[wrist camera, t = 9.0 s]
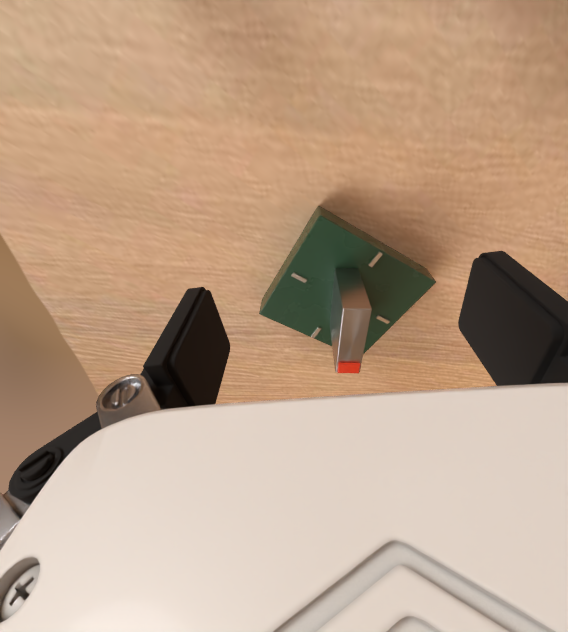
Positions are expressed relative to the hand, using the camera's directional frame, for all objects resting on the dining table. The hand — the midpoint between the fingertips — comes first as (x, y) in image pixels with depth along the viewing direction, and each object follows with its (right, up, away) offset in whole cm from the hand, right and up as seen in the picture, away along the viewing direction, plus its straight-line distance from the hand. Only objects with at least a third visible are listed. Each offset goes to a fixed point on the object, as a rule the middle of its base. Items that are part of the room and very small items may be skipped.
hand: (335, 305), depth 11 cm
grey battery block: (+4, +1, +16) cm, 17 cm away
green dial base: (+4, +3, +18) cm, 19 cm away
